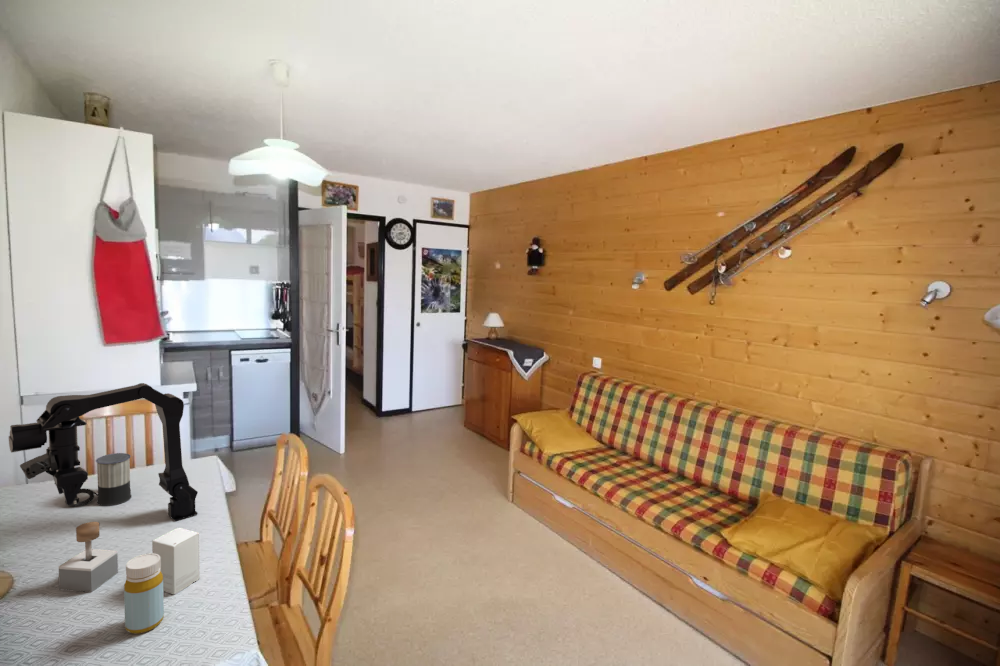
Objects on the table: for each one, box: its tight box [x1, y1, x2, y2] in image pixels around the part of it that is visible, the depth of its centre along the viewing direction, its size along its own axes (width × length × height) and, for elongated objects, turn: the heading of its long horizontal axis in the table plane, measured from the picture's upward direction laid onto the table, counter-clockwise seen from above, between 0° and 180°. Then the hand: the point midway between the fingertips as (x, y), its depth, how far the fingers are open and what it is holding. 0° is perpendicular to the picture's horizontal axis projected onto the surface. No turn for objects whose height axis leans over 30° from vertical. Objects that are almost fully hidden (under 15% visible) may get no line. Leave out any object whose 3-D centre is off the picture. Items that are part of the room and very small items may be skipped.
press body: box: [58, 548, 119, 593], centre depth 124 cm, size 8×8×6 cm
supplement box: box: [151, 527, 201, 595], centre depth 124 cm, size 7×7×13 cm
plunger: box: [75, 521, 101, 561], centre depth 123 cm, size 4×4×9 cm
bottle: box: [123, 552, 165, 635], centre depth 110 cm, size 7×7×15 cm
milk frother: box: [64, 452, 132, 507], centre depth 163 cm, size 14×16×15 cm
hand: (65, 498), depth 135 cm, fingers open, 9 cm apart
